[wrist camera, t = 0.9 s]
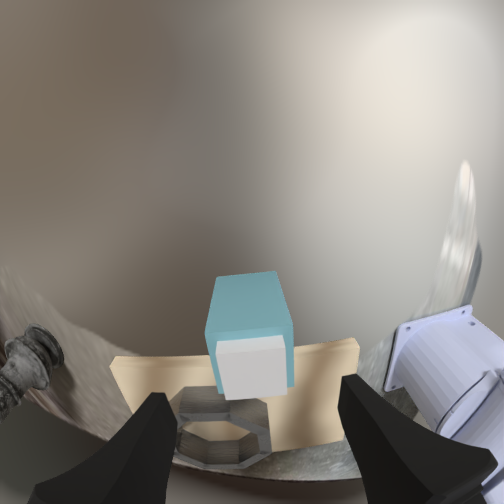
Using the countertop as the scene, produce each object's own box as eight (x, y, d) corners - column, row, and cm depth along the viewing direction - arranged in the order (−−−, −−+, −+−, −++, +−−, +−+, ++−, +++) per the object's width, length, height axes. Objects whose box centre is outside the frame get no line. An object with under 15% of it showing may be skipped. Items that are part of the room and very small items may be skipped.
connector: (275, 270, 19) (296, 336, 11) (279, 321, 20) (297, 399, 12) (216, 276, 19) (201, 345, 11) (224, 327, 20) (217, 406, 12)
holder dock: (353, 337, 21) (374, 371, 16) (339, 430, 24) (349, 460, 20) (115, 356, 21) (96, 389, 16) (158, 442, 24) (151, 473, 20)
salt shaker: (74, 372, 21) (21, 458, 10) (37, 366, 21) (-17, 436, 10) (52, 321, 20) (-24, 403, 8) (16, 319, 20) (-53, 384, 8)
